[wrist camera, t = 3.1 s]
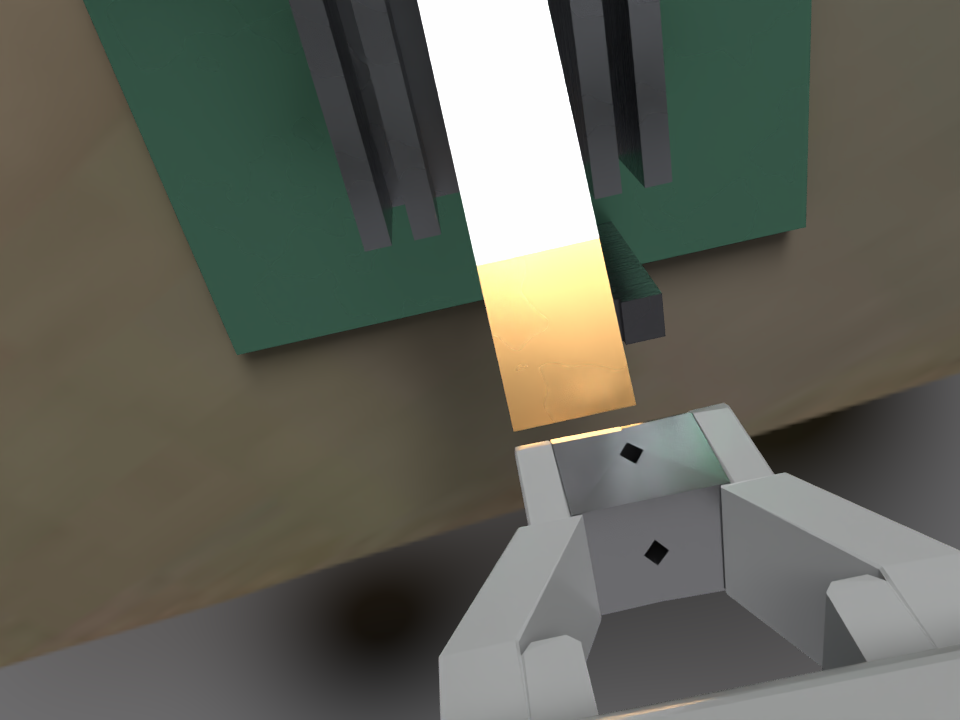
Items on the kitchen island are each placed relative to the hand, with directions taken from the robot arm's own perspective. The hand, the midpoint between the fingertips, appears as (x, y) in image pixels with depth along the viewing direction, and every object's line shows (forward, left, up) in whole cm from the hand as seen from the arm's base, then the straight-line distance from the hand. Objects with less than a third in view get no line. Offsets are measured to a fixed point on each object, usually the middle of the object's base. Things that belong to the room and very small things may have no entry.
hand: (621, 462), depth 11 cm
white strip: (0, +4, -7) cm, 8 cm away
